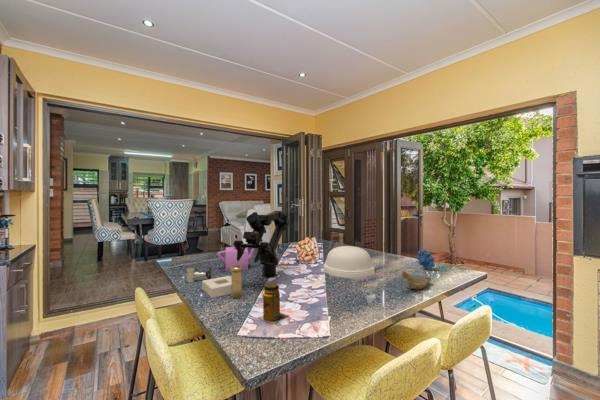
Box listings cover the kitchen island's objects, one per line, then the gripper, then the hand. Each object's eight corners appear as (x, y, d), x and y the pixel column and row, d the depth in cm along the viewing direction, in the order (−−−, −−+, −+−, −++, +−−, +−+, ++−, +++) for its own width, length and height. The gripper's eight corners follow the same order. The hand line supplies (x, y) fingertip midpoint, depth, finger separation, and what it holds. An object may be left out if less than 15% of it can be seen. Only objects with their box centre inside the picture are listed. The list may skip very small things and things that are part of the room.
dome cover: (312, 272, 159) (312, 248, 159) (336, 261, 184) (336, 241, 184) (364, 282, 141) (364, 255, 141) (383, 269, 166) (383, 246, 165)
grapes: (412, 268, 168) (412, 248, 167) (419, 266, 171) (419, 247, 171) (430, 272, 158) (430, 252, 157) (436, 271, 161) (437, 250, 161)
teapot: (260, 269, 164) (260, 246, 164) (216, 272, 158) (216, 248, 158) (257, 263, 179) (257, 242, 179) (217, 265, 173) (217, 243, 172)
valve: (185, 283, 138) (210, 281, 141) (185, 270, 138) (210, 269, 141) (187, 279, 144) (211, 278, 148) (187, 267, 144) (211, 265, 147)
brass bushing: (239, 293, 124) (239, 264, 124) (244, 296, 120) (244, 267, 120) (228, 295, 121) (228, 266, 121) (233, 299, 117) (233, 269, 117)
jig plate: (230, 283, 138) (230, 275, 138) (241, 291, 127) (241, 282, 127) (201, 289, 130) (201, 280, 130) (211, 297, 119) (211, 288, 118)
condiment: (258, 318, 99) (258, 285, 99) (274, 310, 106) (274, 280, 105) (272, 324, 94) (272, 290, 94) (288, 316, 101) (288, 284, 101)
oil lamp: (395, 289, 130) (396, 268, 130) (422, 281, 142) (422, 262, 142) (412, 294, 123) (412, 272, 123) (438, 286, 135) (438, 266, 135)
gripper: (234, 224, 136) (221, 250, 126) (268, 225, 130) (257, 253, 119) (243, 237, 143) (231, 263, 133) (275, 239, 137) (265, 266, 127)
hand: (245, 261), depth 128 cm, fingers open, 9 cm apart
